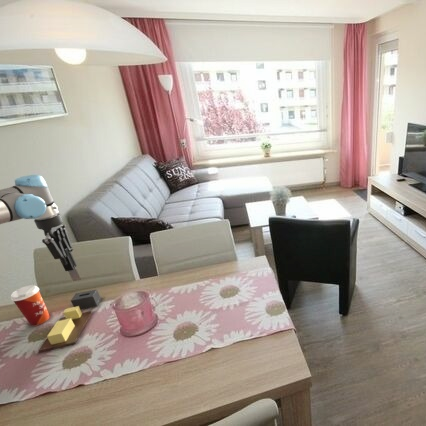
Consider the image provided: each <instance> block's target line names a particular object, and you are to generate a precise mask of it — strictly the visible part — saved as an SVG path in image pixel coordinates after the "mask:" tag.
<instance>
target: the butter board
mask: <svg viewBox="0 0 426 426" xmlns="http://www.w3.org/2000/svg"><path fill="white" fill-rule="evenodd" d="M92 314H93V311H92V310H90V311H86V312H82V315H81V317H80V318H76V319H72V321H73V323H74V325H75V327H74V328H73V330H72V332H71V333H70V335H69V337H68V338H67V340H66V341H65V342H61V343H57V344H53V345H51V343H50V342H49V340H48V338H47V337H46V339H45V340H44V342H43V343H42V344H41V346H40V347H39V349H38V352H39V353H44V352H48V351H52V350H56V349H60V348H65V347H68V346H69V347H70V346H73V345H76V344H77V342H78V341H79V339H80V336H81V335H82V333H83V331H84V330H85V327H86V326H87V324H88V322H89V320H90V318H91V317H92ZM65 319H66V318H65V316H62V317H60V318H59V320H58V321H61V320H65Z"/></svg>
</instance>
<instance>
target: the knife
mask: <svg viewBox="0 0 426 426" xmlns="http://www.w3.org/2000/svg"><path fill="white" fill-rule="evenodd" d="M64 251H65V253H66V256H67V255H68V256H69V259H70V261H71V263H72V265H73V267H74V270H71V271H67V272H68V274H69V276H70V278H71V281H72V282H77V281H81V280H82V278H81V276H80V274H79V271H78V270H77V268H76V267H77V266H76V267H75V264H74V262H73V260H72V258H71V255H70V253H69V251H68V249H67V248H64Z"/></svg>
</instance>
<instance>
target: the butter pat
mask: <svg viewBox="0 0 426 426" xmlns="http://www.w3.org/2000/svg"><path fill="white" fill-rule="evenodd" d="M82 313H83V312H82V310H80V308H79V306H77V307H73V306H72V307H68V308H65V309H64V311H63V312H62V314H63V317H65V318H66V319H70V318H71V319H76V318H80V317H81V315H82Z"/></svg>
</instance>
